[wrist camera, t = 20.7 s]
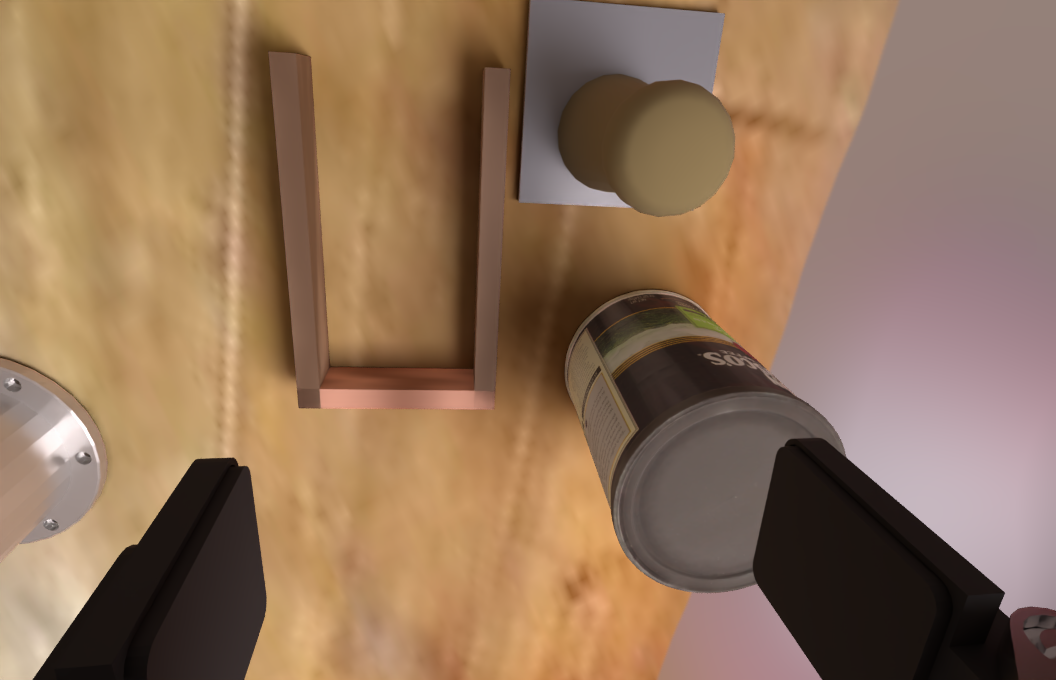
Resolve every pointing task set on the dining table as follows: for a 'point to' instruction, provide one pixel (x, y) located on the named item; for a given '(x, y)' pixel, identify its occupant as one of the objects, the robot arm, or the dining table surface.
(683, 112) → the tan hourglass shape
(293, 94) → the brown u-shaped frame
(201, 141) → the dining table surface
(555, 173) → the coaster
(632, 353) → the coffee can
